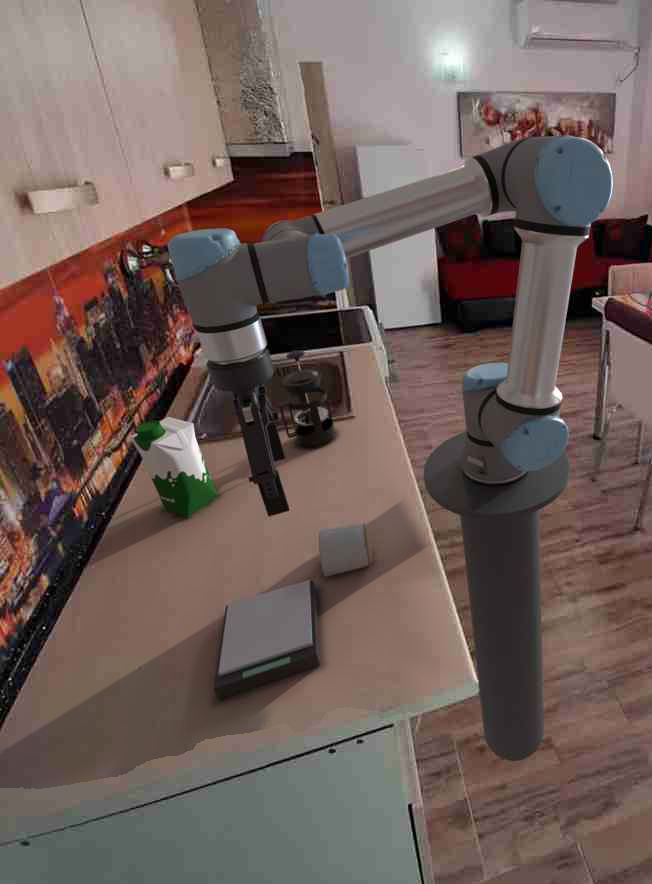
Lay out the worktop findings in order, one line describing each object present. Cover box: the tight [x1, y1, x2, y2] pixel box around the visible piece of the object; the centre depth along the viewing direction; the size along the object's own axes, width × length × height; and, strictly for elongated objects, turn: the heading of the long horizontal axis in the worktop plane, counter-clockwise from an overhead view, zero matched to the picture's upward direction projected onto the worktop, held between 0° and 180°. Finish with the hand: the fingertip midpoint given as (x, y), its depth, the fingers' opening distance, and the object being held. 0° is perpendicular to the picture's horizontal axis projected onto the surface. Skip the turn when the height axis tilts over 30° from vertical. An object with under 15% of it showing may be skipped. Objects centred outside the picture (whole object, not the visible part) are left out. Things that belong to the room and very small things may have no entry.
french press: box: [278, 350, 337, 449], centre depth 121 cm, size 12×9×23 cm
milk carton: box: [129, 416, 219, 518], centre depth 101 cm, size 9×9×20 cm
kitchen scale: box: [213, 579, 321, 701], centre depth 75 cm, size 13×14×3 cm
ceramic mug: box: [318, 523, 373, 577], centre depth 88 cm, size 11×8×8 cm
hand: (277, 484), depth 76 cm, fingers open, 13 cm apart
